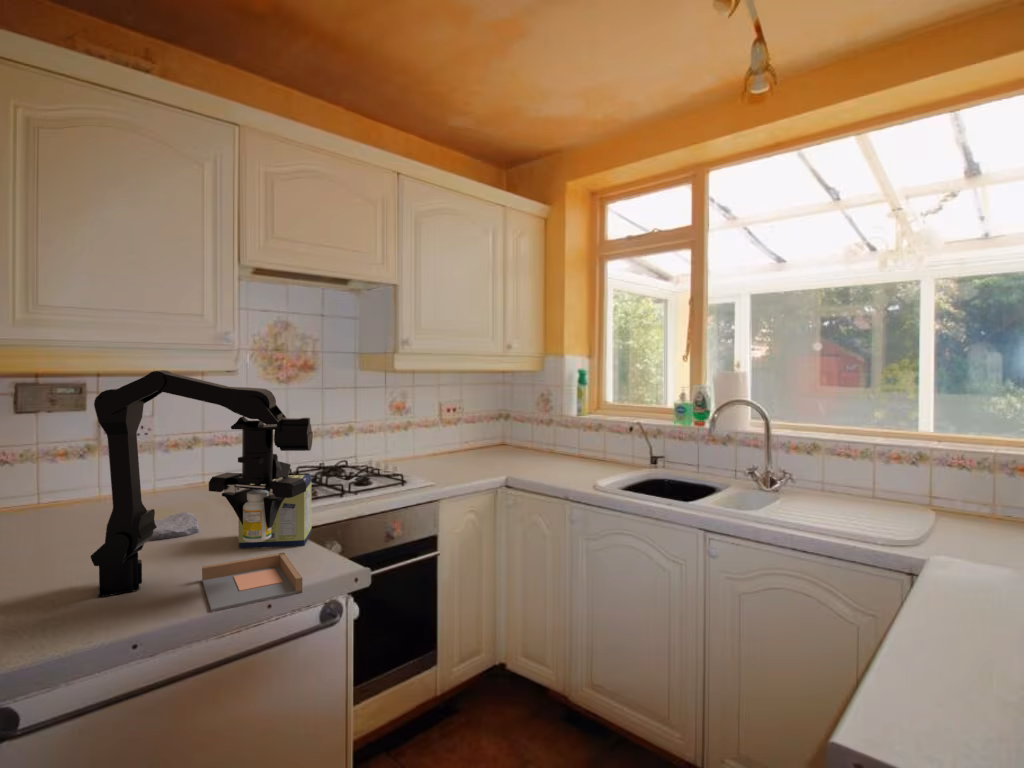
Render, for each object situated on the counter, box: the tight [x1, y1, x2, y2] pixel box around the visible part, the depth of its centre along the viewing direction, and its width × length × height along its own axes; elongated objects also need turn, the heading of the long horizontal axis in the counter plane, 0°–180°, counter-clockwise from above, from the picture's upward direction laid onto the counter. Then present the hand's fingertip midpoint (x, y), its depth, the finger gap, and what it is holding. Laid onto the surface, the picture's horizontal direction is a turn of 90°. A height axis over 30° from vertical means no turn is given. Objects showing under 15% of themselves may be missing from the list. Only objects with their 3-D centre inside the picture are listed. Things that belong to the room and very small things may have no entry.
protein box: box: [238, 474, 313, 549], centre depth 139 cm, size 10×16×16 cm
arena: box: [201, 552, 303, 613], centre depth 112 cm, size 16×16×3 cm
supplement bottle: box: [243, 490, 271, 542], centre depth 113 cm, size 5×5×10 cm
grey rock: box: [148, 512, 200, 541], centre depth 142 cm, size 12×5×10 cm
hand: (257, 526), depth 113 cm, fingers closed on supplement bottle, 5 cm apart
